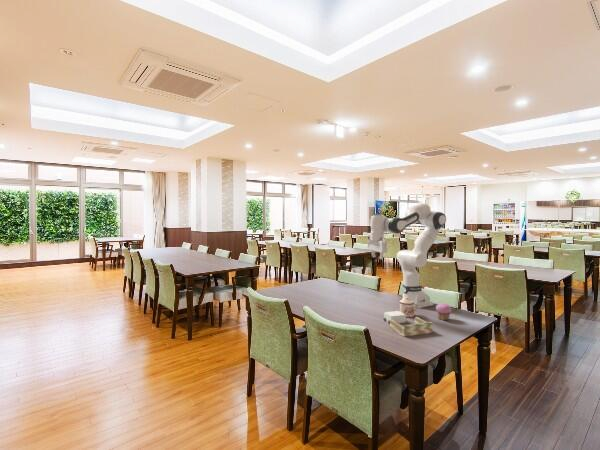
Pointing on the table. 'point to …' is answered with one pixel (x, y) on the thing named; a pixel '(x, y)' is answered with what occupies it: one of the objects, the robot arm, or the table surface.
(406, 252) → the robot arm
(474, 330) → the table surface
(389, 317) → the trolley
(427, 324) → the bay
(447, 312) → the cupcake
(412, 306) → the teacup with lid
